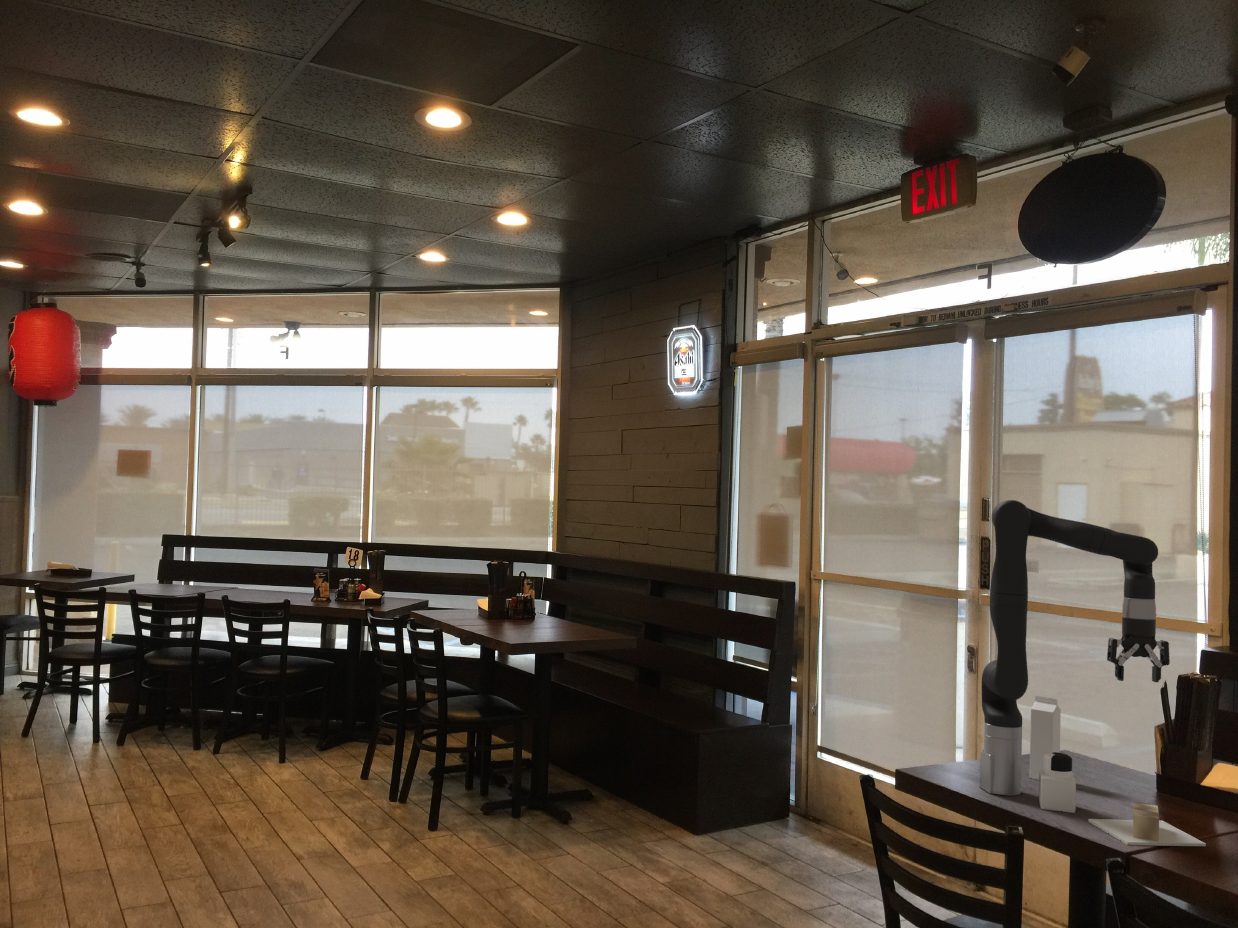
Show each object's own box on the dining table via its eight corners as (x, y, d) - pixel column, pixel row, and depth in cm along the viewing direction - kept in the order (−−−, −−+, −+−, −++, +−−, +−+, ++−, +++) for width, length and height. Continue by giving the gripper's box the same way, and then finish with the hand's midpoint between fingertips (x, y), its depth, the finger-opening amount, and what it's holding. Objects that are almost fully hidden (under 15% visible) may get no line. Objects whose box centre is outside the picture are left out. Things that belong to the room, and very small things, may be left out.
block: (1158, 841, 221) (1157, 826, 231) (1159, 818, 221) (1157, 804, 231) (1133, 837, 223) (1132, 822, 234) (1133, 814, 223) (1133, 801, 234)
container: (1072, 804, 248) (1073, 752, 249) (1075, 813, 241) (1076, 759, 242) (1038, 800, 251) (1039, 748, 252) (1040, 809, 244) (1042, 755, 244)
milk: (1051, 782, 268) (1053, 700, 269) (1028, 778, 273) (1030, 696, 273) (1059, 778, 273) (1061, 697, 274) (1036, 773, 277) (1038, 694, 278)
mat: (1127, 844, 219) (1127, 841, 219) (1088, 821, 235) (1088, 818, 235) (1205, 846, 220) (1205, 843, 220) (1161, 822, 236) (1161, 820, 236)
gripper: (1160, 615, 255) (1159, 679, 254) (1103, 613, 255) (1102, 677, 255) (1175, 619, 247) (1174, 685, 246) (1116, 616, 248) (1115, 682, 247)
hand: (1137, 680), depth 251 cm, fingers open, 8 cm apart
